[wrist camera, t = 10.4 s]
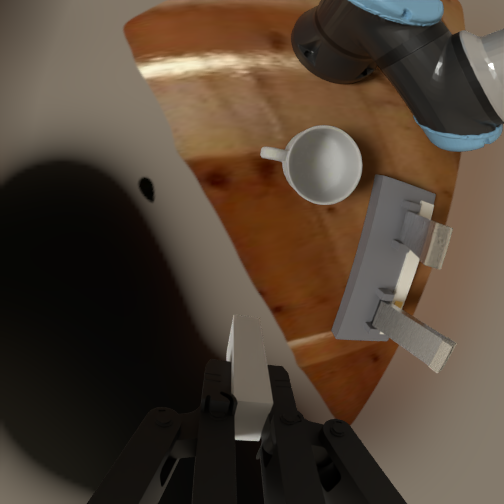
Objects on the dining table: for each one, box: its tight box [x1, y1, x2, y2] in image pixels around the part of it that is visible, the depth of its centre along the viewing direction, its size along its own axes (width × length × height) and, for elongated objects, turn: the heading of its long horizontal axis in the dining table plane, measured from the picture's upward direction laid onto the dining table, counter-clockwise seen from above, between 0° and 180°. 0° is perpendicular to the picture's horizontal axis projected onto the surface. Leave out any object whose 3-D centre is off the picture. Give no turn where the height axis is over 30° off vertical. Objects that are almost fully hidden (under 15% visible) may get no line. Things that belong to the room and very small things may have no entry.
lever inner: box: [399, 211, 453, 269], centre depth 35 cm, size 5×2×17 cm, turn 169°
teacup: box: [261, 125, 362, 205], centre depth 39 cm, size 14×11×8 cm
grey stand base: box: [331, 174, 436, 341], centre depth 46 cm, size 30×12×6 cm, turn 169°
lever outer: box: [371, 299, 457, 373], centre depth 40 cm, size 5×2×17 cm, turn 169°
